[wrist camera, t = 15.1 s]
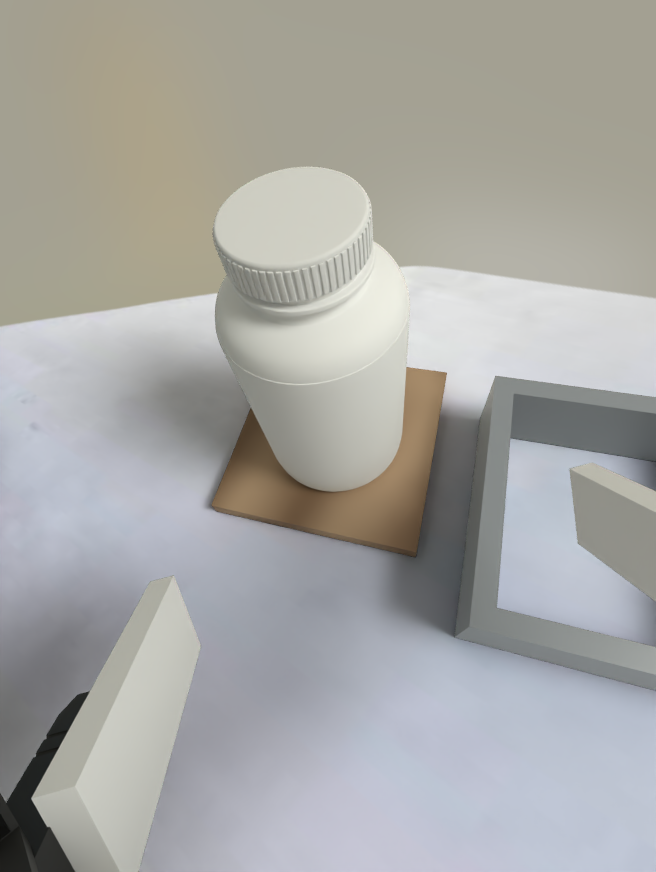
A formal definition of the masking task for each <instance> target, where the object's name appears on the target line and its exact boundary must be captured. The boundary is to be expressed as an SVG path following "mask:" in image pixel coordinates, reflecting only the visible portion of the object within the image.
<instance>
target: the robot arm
mask: <svg viewBox="0 0 656 872" xmlns="http://www.w3.org/2000/svg"><path fill="white" fill-rule="evenodd" d="M570 478H571V487H572V496H573V505H574V513H575V522H576V531H577V540H578V544H579V545H581V546H582V547H583V548H585V549H586V550H587V551H589V552H590V553H591V554H593V555H594V556H595V557H597V558H598V559H599V560H601V561H602V562H603V563H605V564H606V565H607V566H609V567H610V568H611V569H613V570H614V571H615V572H617V573H618V574H619V575H621V576H622V577H623V578H625V579H626V580H627V581H629V582H630V583H631V584H633V585H634V586H635V587H637V588H638V589H639V590H641V591H642V592H643V593H645V594H646V595H647V596H649V597H650V598H651V599H653V600H654V601H655V602H656V491H654V490H652V489H650V488H647V487H645V486H643V485H641V484H639V483H636V482H634V481H632V480H630V479H627V478H625V477H623V476H621V475H618V474H616V473H614V472H612V471H610V470H607V469H605V468H603V467H601V466H598V465H596V464H594V463H589V464H585V465H582V466H578V467H574V468H570ZM200 649H201V644H200V642H199V639H198V637H197V634H196V631H195V629H194V626H193V624H192V621H191V619H190V616H189V613H188V611H187V608H186V606H185V603H184V600H183V598H182V595H181V593H180V590H179V587H178V585H177V582H176V580H175V577H174V575H173V576H169V577H165V578H162V579H158V580H154V581H151V582H150V583H149V585H148V587H147V588H146V590H145V592H144V594H143V596H142V598H141V599H140V601H139V603H138V605H137V607H136V608H135V610H134V612H133V614H132V616H131V618H130V619H129V621H128V623H127V625H126V627H125V628H124V630H123V632H122V634H121V636H120V638H119V639H118V641H117V643H116V645H115V647H114V649H113V650H112V652H111V654H110V656H109V658H108V659H107V661H106V663H105V665H104V667H103V669H102V670H101V672H100V674H99V676H98V678H97V680H96V681H95V683H94V685H93V687H92V689H91V690H90V691H89V692H86V693H82V694H79V695H77V696H76V697H75V698H74V699H73V700H72V701H71V702H70V703H69V705H68V706H67V707H66V708H65V709H64V710H63V711H62V712H61V713H60V714H59V715H58V717H57V719H56V720H55V722H54V724H53V726H52V727H51V729H50V731H49V732H48V734H47V739H45V740H44V741H43V742H42V744H41V746H40V747H39V749H38V751H37V752H36V757H34V758H33V759H32V761H31V762H30V764H29V766H28V767H27V769H26V771H25V773H24V774H23V776H22V778H21V779H20V781H19V783H18V784H17V786H16V788H15V789H14V791H13V793H12V794H11V796H10V798H9V799H8V801H7V803H5V801H4V799H3V797H2V796H1V794H0V872H139V868H140V865H141V861H142V858H143V854H144V850H145V847H146V843H147V840H148V836H149V832H150V829H151V825H152V822H153V818H154V814H155V811H156V807H157V804H158V800H159V796H160V793H161V789H162V786H163V782H164V778H165V775H166V771H167V768H168V764H169V760H170V757H171V753H172V750H173V746H174V742H175V739H176V735H177V732H178V728H179V724H180V721H181V717H182V714H183V710H184V706H185V703H186V699H187V696H188V692H189V688H190V685H191V681H192V678H193V674H194V670H195V667H196V663H197V660H198V656H199V652H200Z"/></svg>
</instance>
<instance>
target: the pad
mask: <svg viewBox="0 0 656 872" xmlns="http://www.w3.org/2000/svg"><path fill="white" fill-rule="evenodd" d="M446 375H447V373H445V372H438V371H431V370H423V369H416V368H409V367H406V381H405V397H404V413H403V429H402V437H401V441H400V445H399V448H398V451H397V453H396V455H395V457H394V459H393V461H392V462H391V464H390V465H389V466H388V467H387V469H386V470H385V471H384V472H383V473H382V474H381V475H379V476H378V477H377V478H376V479H374V480H373V481H371V482H369V483H367V484H365V485H363V486H361V487H358V488H355V489H352V490H347V491H339V492H329V491H321V490H317V489H313V488H310V487H308V486H305V485H303V484H302V483H300V482H298V481H297V480H295V479H294V478H293V477H291V476H290V475H289V474H288V473H287V472H286V471H285V469H284V468H283V467H282V466H281V464H280V463H279V462H278V460H277V458H276V457H275V455H274V453H273V451H272V449H271V446H270V444H269V442H268V440H267V438H266V436H265V434H264V432H263V430H262V428H261V426H260V424H259V422H258V420H257V418H256V416H255V414H254V412H253V410H252V408H251V409H250V411H249V414H248V416H247V419H246V421H245V424H244V426H243V428H242V431H241V433H240V436H239V438H238V441H237V443H236V446H235V448H234V451H233V453H232V456H231V458H230V461H229V463H228V465H227V468H226V470H225V473H224V475H223V478H222V480H221V483H220V485H219V488H218V490H217V493H216V495H215V498H214V500H213V502H212V505H211V506H212V507H213V508H214V509H215V510H216V511H217V512H222V513H226V514H230V515H235V516H239V517H243V518H248V519H252V520H256V521H261V522H265V523H269V524H274V525H278V526H282V527H287V528H291V529H296V530H300V531H304V532H309V533H313V534H317V535H322V536H326V537H330V538H335V539H339V540H343V541H348V542H352V543H356V544H361V545H365V546H369V547H374V548H378V549H382V550H387V551H391V552H395V553H400V554H404V555H409V556H413V557H416V553H417V547H418V541H419V535H420V529H421V523H422V517H423V512H424V506H425V500H426V494H427V488H428V482H429V476H430V470H431V464H432V458H433V452H434V446H435V440H436V434H437V428H438V423H439V417H440V411H441V405H442V399H443V393H444V387H445V381H446Z"/></svg>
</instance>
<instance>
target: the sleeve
mask: <svg viewBox="0 0 656 872" xmlns="http://www.w3.org/2000/svg"><path fill="white" fill-rule="evenodd" d="M510 438H514V439H520V440H527V441H533V442H539V443H545V444H551V445H557V446H563V447H569V448H576V449H582V450H588V451H594V452H600V453H606V454H612V455H618V456H625V457H631V458H637V459H643V460H649V461H655V462H656V397H649V396H642V395H634V394H627V393H619V392H612V391H605V390H597V389H590V388H582V387H575V386H568V385H560V384H553V383H545V382H538V381H530V380H523V379H516V378H508V377H501V376H495V379H494V382H493V384H492V387H491V390H490V393H489V396H488V398H487V401H486V404H485V407H484V409H483V412H482V415H481V418H480V424H479V432H478V440H477V449H476V457H475V466H474V474H473V483H472V491H471V500H470V508H469V517H468V525H467V534H466V542H465V550H464V559H463V567H462V576H461V584H460V593H459V601H458V610H457V618H456V627H455V635H454V637H455V638H458V639H462V640H466V641H470V642H473V643H477V644H481V645H485V646H489V647H492V648H496V649H500V650H504V651H507V652H511V653H515V654H519V655H523V656H526V657H530V658H534V659H538V660H541V661H545V662H549V663H553V664H557V665H560V666H564V667H568V668H572V669H575V670H579V671H583V672H587V673H591V674H594V675H598V676H602V677H606V678H609V679H613V680H617V681H621V682H625V683H628V684H632V685H636V686H640V687H643V688H647V689H651V690H655V691H656V647H654V646H650V645H646V644H642V643H638V642H634V641H629V640H625V639H621V638H617V637H613V636H609V635H605V634H601V633H597V632H593V631H589V630H585V629H581V628H576V627H572V626H568V625H564V624H560V623H556V622H552V621H548V620H544V619H540V618H536V617H532V616H528V615H524V614H519V613H515V612H511V611H507V610H503V609H499V608H497V599H498V586H499V573H500V561H501V548H502V536H503V523H504V510H505V498H506V485H507V473H508V460H509V447H510Z"/></svg>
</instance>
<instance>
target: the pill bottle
mask: <svg viewBox="0 0 656 872" xmlns="http://www.w3.org/2000/svg"><path fill="white" fill-rule="evenodd" d="M213 241H214V244H215V247H216V250H217V252H218V255H219V257H220V259H221V262H222V264H223V266H224V269H225V272H226V274H227V275H226V277H225V278H224V280H223V282H222V284H221V287H220V289H219V292H218V295H217V299H216V305H215V325H216V333H217V337H218V340H219V343H220V345H221V347H222V350H223V352H224V354H225V356H226V358H227V360H228V362H229V364H230V366H231V368H232V370H233V372H234V374H235V376H236V378H237V380H238V382H239V384H240V386H241V388H242V390H243V392H244V394H245V396H246V398H247V400H248V402H249V404H250V406H251V408H252V410H253V412H254V414H255V416H256V418H257V420H258V422H259V424H260V426H261V428H262V430H263V432H264V434H265V436H266V438H267V440H268V442H269V444H270V446H271V449H272V451H273V453H274V455H275V457H276V458H277V460H278V462H279V463H280V464H281V466H282V467H283V468H284V469H285V471H286V472H287V473H288V474H289V475H290V476H291V477H293V478H294V479H295V480H297V481H298V482H300V483H302V484H303V485H305V486H308V487H310V488H313V489H317V490H321V491H329V492H339V491H347V490H352V489H355V488H358V487H361V486H363V485H365V484H367V483H369V482H371V481H373V480H374V479H376V478H377V477H378V476H379V475H381V474H382V473H383V472H384V471H385V470H386V469H387V467H388V466H389V465H390V464H391V462H392V461H393V459H394V457H395V455H396V453H397V451H398V448H399V445H400V441H401V437H402V429H403V413H404V397H405V381H406V365H407V349H408V333H409V317H410V299H409V292H408V288H407V285H406V282H405V279H404V276H403V274H402V272H401V270H400V268H399V266H398V265H397V263H396V262H395V260H394V259H393V258H392V257H391V255H390V254H389V253H388V252H387V251H386V250H385V249H383V248H382V247H381V246H380V245H378V244H377V243H375V242H374V241H373V227H372V209H371V203H370V199H369V198H368V195H367V194H366V192H365V191H364V189H363V188H362V187H361V186H360V185H359V183H357V182H356V181H355V180H354V179H352V178H351V177H349V176H347V175H345V174H343V173H341V172H338V171H335V170H331V169H327V168H320V167H296V168H289V169H283V170H279V171H275V172H271V173H268V174H266V175H263V176H260V177H258V178H256V179H254V180H252V181H250V182H248V183H247V184H245V185H243V186H242V187H240V188H239V189H238V190H236V191H235V192H234V193H233V194H232V195H231V196H229V197H228V198H227V200H226V201H225V202H224V203H223V205H222V206H221V207H220V209H219V211H218V213H217V215H216V218H215V221H214V227H213Z"/></svg>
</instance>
